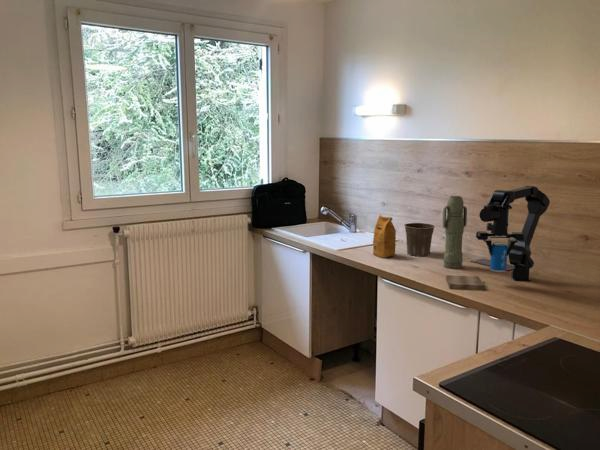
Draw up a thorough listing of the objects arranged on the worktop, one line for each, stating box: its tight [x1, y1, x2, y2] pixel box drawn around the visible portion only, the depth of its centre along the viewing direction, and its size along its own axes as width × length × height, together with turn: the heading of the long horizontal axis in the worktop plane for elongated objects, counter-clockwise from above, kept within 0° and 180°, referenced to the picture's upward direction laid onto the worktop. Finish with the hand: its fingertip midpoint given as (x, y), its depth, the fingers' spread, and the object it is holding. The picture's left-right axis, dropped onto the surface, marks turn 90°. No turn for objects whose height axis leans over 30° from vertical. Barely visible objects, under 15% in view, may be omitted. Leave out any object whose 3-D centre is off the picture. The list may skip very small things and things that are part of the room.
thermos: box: [442, 195, 468, 270], centre depth 245 cm, size 9×12×35 cm
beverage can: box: [489, 241, 508, 273], centre depth 215 cm, size 6×6×12 cm
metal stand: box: [445, 274, 485, 291], centre depth 217 cm, size 14×14×2 cm
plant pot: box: [404, 222, 436, 257], centre depth 274 cm, size 16×16×16 cm
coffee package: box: [372, 214, 397, 259], centre depth 271 cm, size 10×12×22 cm
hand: (498, 255), depth 215 cm, fingers closed on beverage can, 6 cm apart
